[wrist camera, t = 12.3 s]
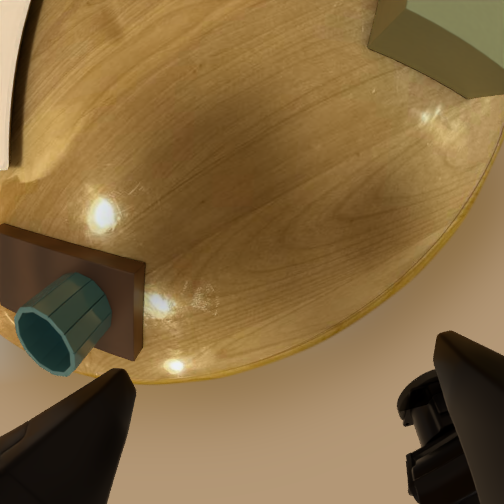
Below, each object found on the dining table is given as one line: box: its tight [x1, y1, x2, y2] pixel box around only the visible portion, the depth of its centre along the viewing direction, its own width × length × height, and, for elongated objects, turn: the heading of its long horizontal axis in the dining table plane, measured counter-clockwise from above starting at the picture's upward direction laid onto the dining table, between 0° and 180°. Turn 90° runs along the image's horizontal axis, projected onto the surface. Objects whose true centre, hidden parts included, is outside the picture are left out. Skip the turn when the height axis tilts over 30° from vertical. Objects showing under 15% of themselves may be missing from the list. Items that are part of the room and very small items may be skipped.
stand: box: [367, 0, 504, 99], centre depth 11 cm, size 8×8×7 cm
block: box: [0, 224, 145, 361], centre depth 22 cm, size 16×8×2 cm, turn 79°
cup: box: [14, 272, 112, 377], centre depth 18 cm, size 5×5×6 cm
